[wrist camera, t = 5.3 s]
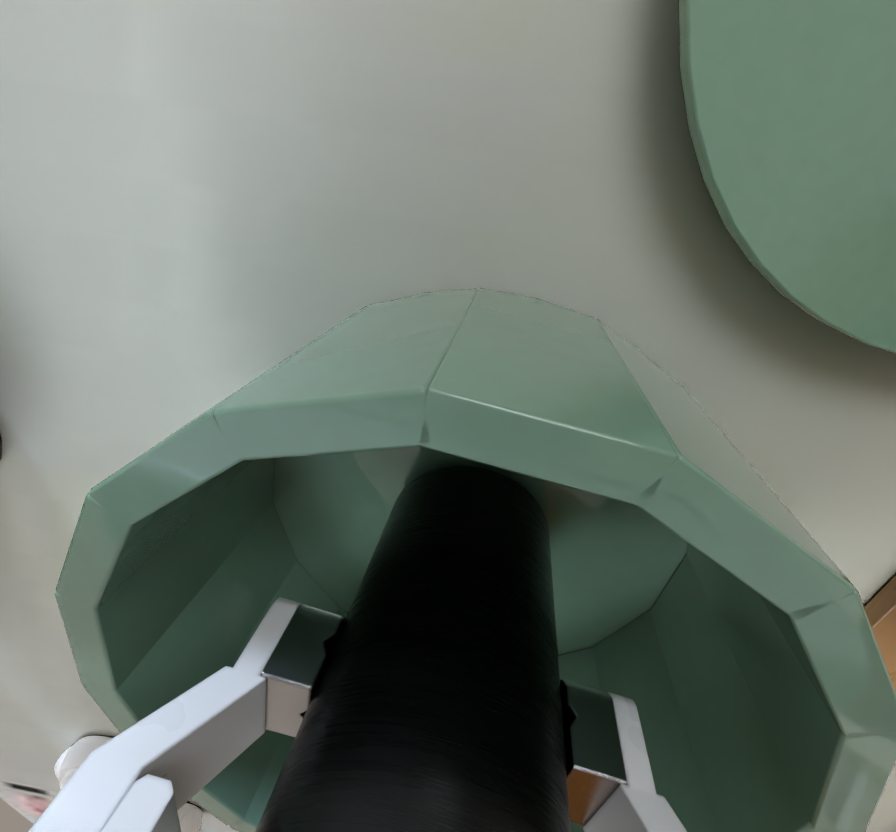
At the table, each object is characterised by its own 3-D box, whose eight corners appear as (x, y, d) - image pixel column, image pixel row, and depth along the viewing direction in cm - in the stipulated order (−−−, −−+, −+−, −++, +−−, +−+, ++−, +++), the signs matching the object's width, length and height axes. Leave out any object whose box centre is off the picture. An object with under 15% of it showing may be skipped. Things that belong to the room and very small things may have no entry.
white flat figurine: (104, 815, 31) (65, 873, 29) (53, 721, 26) (-1, 781, 23) (217, 846, 31) (188, 908, 28) (189, 755, 25) (149, 821, 22)
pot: (264, 227, 11) (-50, 259, 5) (824, 372, 11) (1234, 603, 5) (257, 600, 18) (117, 809, 12) (601, 702, 18) (644, 977, 11)
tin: (405, 445, 12) (218, 836, 5) (572, 490, 12) (650, 973, 5) (381, 564, 15) (229, 958, 7) (522, 604, 14) (518, 1052, 7)
